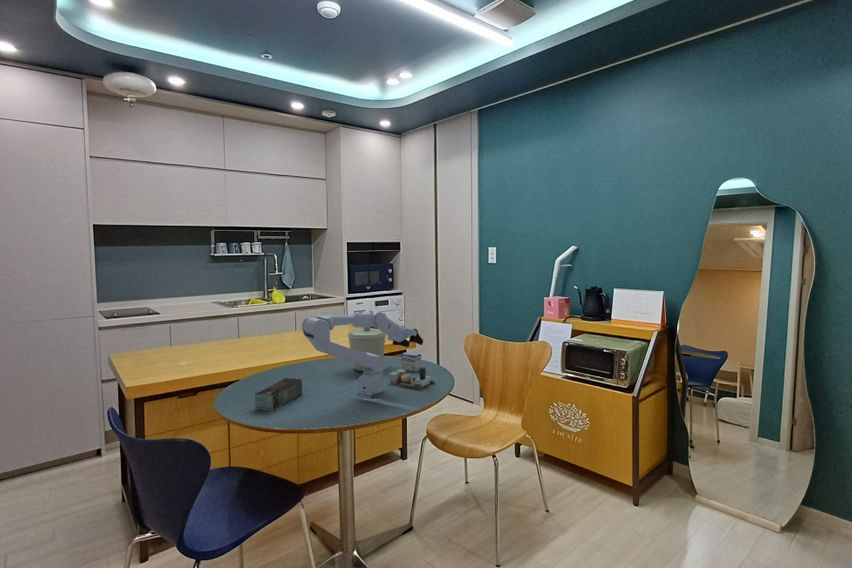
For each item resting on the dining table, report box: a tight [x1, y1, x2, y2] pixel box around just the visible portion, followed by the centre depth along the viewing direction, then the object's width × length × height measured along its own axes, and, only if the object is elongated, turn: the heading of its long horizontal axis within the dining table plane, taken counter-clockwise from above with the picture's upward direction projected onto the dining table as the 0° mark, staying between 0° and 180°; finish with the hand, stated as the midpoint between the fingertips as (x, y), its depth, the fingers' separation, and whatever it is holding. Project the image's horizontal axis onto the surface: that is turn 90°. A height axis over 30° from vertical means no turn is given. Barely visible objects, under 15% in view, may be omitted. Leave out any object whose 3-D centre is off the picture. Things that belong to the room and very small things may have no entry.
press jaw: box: [415, 366, 432, 388], centre depth 178 cm, size 7×3×7 cm, turn 148°
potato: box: [401, 373, 412, 384], centre depth 182 cm, size 4×4×3 cm
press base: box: [385, 368, 436, 392], centre depth 181 cm, size 10×18×6 cm, turn 58°
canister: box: [346, 327, 388, 372], centre depth 209 cm, size 18×18×21 cm
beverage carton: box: [254, 377, 303, 412], centre depth 166 cm, size 8×19×7 cm, turn 163°
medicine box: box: [401, 351, 422, 372], centre depth 202 cm, size 8×4×9 cm, turn 62°
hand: (415, 343), depth 186 cm, fingers open, 7 cm apart
